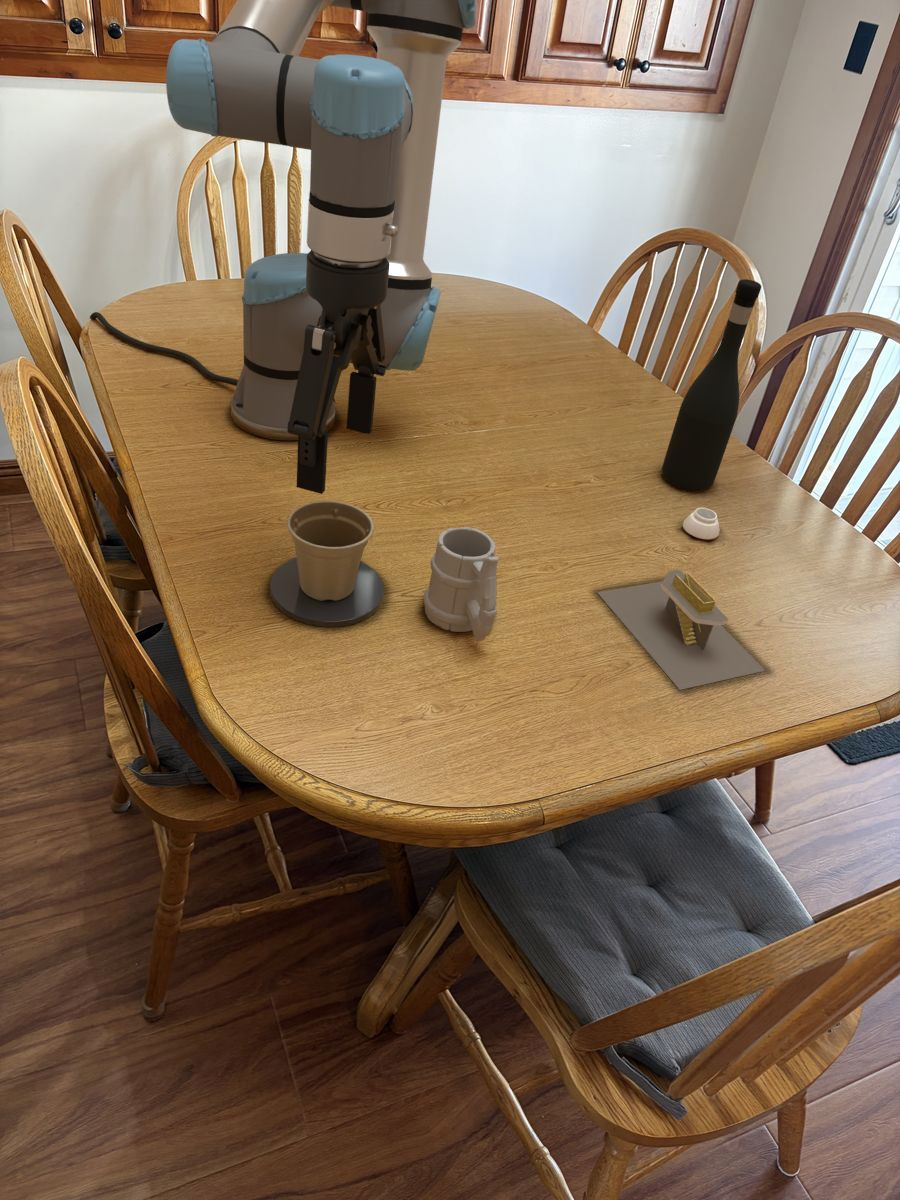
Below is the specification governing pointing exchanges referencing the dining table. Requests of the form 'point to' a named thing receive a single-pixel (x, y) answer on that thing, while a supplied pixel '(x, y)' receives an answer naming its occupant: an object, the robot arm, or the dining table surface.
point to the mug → (463, 582)
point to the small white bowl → (702, 524)
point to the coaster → (327, 611)
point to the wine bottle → (710, 405)
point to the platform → (681, 630)
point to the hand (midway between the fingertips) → (336, 458)
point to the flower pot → (329, 546)
